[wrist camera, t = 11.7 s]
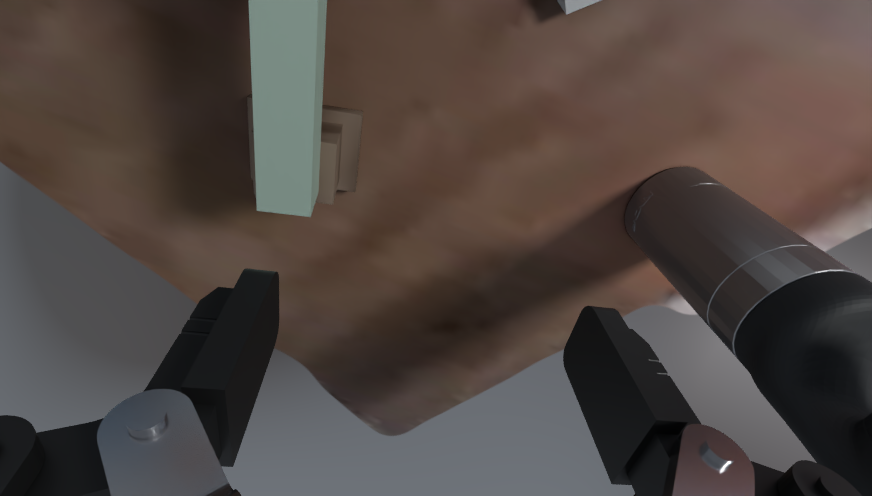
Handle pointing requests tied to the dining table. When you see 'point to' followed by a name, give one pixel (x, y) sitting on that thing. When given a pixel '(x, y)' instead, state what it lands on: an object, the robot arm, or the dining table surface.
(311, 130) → the green rail
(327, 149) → the post
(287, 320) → the dining table surface
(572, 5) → the decorative molding
